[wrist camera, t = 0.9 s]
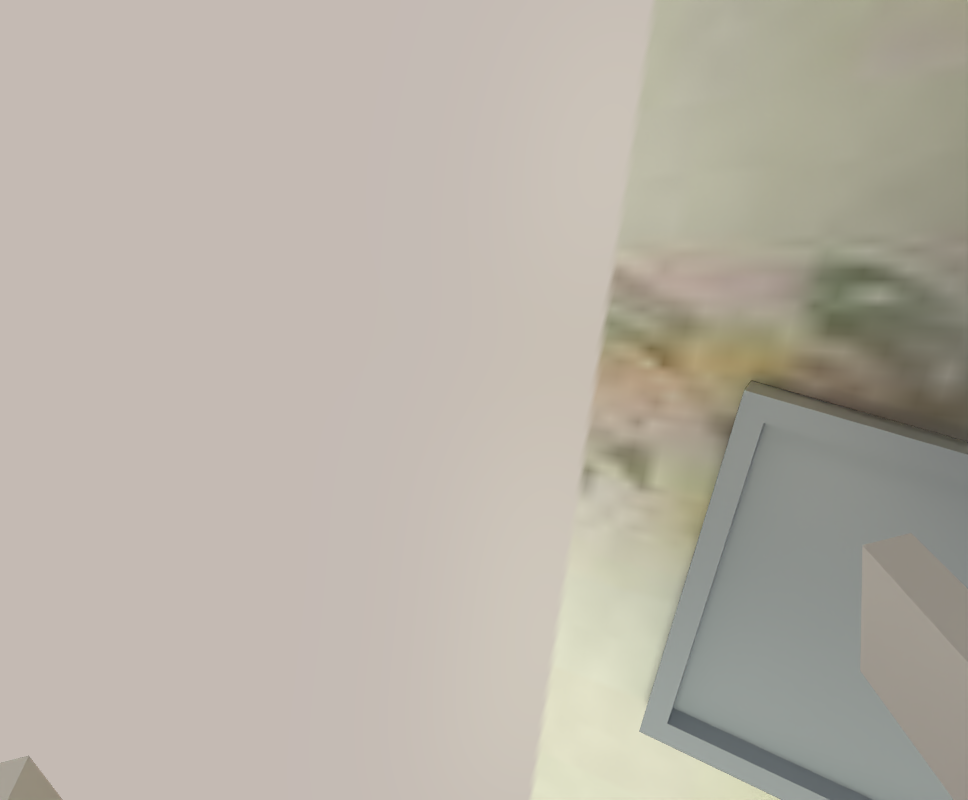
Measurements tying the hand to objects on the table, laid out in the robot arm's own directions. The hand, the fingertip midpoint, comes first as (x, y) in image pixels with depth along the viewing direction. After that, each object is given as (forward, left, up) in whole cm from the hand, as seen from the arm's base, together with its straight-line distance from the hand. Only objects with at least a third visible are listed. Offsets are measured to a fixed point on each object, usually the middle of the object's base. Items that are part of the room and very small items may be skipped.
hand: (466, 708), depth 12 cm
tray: (+6, +9, -22) cm, 25 cm away
